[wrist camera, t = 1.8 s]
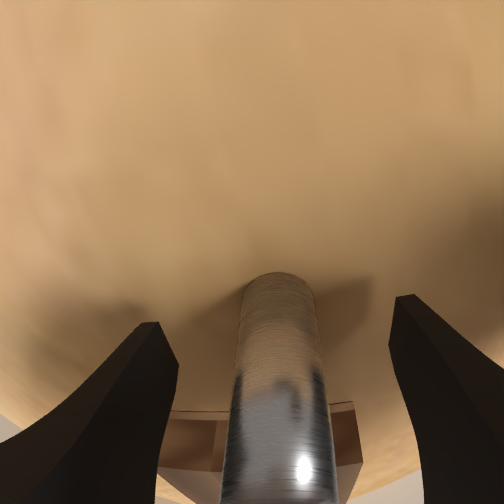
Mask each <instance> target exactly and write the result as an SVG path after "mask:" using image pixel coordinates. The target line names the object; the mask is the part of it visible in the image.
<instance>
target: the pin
mask: <svg viewBox="0 0 504 504" xmlns="http://www.w3.org/2000/svg"><path fill="white" fill-rule="evenodd" d="M219 504H339V497H338V485H337V473H336V463H335V452H334V443H333V434H332V425H331V417H330V408H329V400H328V393H327V385H326V378H325V371H324V364H323V357H322V350H321V344H320V337H319V331H318V325H317V318H316V312H315V306H314V301H313V295H312V291H311V289H310V287H309V286H308V285H307V284H306V283H305V282H304V281H303V280H302V279H300V278H299V277H297V276H294V275H292V274H288V273H279V272H277V273H269V274H265V275H263V276H260V277H258V278H256V279H255V280H254V281H252V282H251V283H250V284H249V285H248V287H247V288H246V290H245V292H244V294H243V300H242V309H241V317H240V325H239V334H238V342H237V351H236V359H235V368H234V376H233V385H232V393H231V402H230V411H229V419H228V428H227V437H226V445H225V454H224V463H223V471H222V480H221V489H220V498H219Z"/></svg>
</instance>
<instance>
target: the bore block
mask: <svg viewBox="0 0 504 504" xmlns="http://www.w3.org/2000/svg"><path fill="white" fill-rule="evenodd" d="M329 408H330V417H331V425H332V434H333V443H334V452H335V463H336V473H337V485H338V497H339V504H346V502H347V500H348V498H349V496H350V494H351V491H352V489H353V487H354V484H355V482H356V479H357V477H358V475H359V472H360V470H361V467H362V464H363V457H362V451H361V444H360V438H359V432H358V426H357V420H356V415H355V409H354V403H353V402H347V403H340V404H333V405H329ZM228 419H229V412H180V411H170V415H169V419H168V422H167V426H166V430H165V434H164V438H163V442H162V445H161V450H160V455H159V460H158V468H157V474H159V475H160V476H161V477H162V478H163V479H165V480H166V481H167V482H168V483H170V484H171V485H172V486H173V487H175V488H176V489H177V490H178V491H180V492H181V493H182V494H184V495H185V496H186V497H188V498H189V499H191V500H192V501H193V502H195V503H196V504H219V498H220V489H221V480H222V471H223V463H224V454H225V445H226V437H227V428H228Z"/></svg>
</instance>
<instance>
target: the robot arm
mask: <svg viewBox="0 0 504 504" xmlns="http://www.w3.org/2000/svg"><path fill="white" fill-rule="evenodd" d="M388 346H389V350H390V354H391V359H392V363H393V367H394V372H395V375H396V378H397V381H398V384H399V386H400V389H401V392H402V395H403V398H404V401H405V404H406V407H407V410H408V413H409V416H410V419H411V422H412V425H413V428H414V432H415V436H416V440H417V444H418V450H419V456H420V463H421V470H422V479H423V488H424V504H504V369H503V368H502V367H500V366H499V365H497V364H496V363H495V362H493V361H492V360H491V359H489V358H488V357H487V356H486V355H484V354H483V353H482V352H481V351H479V350H478V349H477V348H476V347H474V346H473V345H472V344H471V343H470V342H468V341H467V340H466V339H465V338H464V337H462V336H461V335H460V334H459V333H458V332H457V331H456V330H454V329H453V328H452V327H451V326H450V325H449V324H448V323H447V322H445V321H444V320H443V319H442V318H441V317H440V316H439V315H438V314H436V313H435V312H434V311H433V310H432V309H431V308H430V307H429V306H427V305H426V304H425V303H424V302H423V301H422V300H421V299H419V298H418V297H417V296H416V295H415V294H411V295H406V296H400V297H396V299H395V307H394V314H393V320H392V326H391V332H390V338H389V344H388ZM178 368H179V364H178V362H177V360H176V358H175V356H174V354H173V352H172V350H171V347H170V345H169V343H168V341H167V339H166V337H165V335H164V333H163V330H162V328H161V326H160V324H159V322H145V323H141V324H140V325H139V326H138V327H137V328H136V329H135V330H134V331H133V332H132V333H131V334H130V335H129V336H128V337H127V338H126V339H125V340H124V341H123V342H122V343H121V344H120V345H119V347H118V348H117V349H116V350H115V351H114V352H113V353H112V354H111V355H110V356H109V357H108V358H107V359H106V360H105V361H104V362H103V364H102V365H101V366H100V367H99V368H98V369H97V370H96V371H95V372H94V373H93V374H92V375H91V376H90V377H89V378H88V379H87V380H86V381H85V382H84V383H83V384H82V385H81V386H80V387H79V388H78V389H77V390H75V391H74V392H73V393H72V394H71V395H70V396H69V397H68V398H67V399H65V400H64V401H63V402H62V403H61V404H59V405H58V406H57V407H56V408H54V409H53V410H52V411H51V412H49V413H48V414H47V415H45V416H44V417H42V418H41V419H40V420H38V421H37V422H35V423H34V424H32V425H31V426H30V427H28V428H27V429H25V430H23V431H22V432H20V433H19V434H17V435H15V436H14V437H11V438H9V439H8V440H6V441H4V442H2V443H0V504H154V503H155V488H156V477H157V468H158V460H159V455H160V450H161V445H162V442H163V438H164V434H165V430H166V426H167V422H168V419H169V415H170V411H171V407H172V403H173V400H174V396H175V391H176V384H177V376H178Z"/></svg>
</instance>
